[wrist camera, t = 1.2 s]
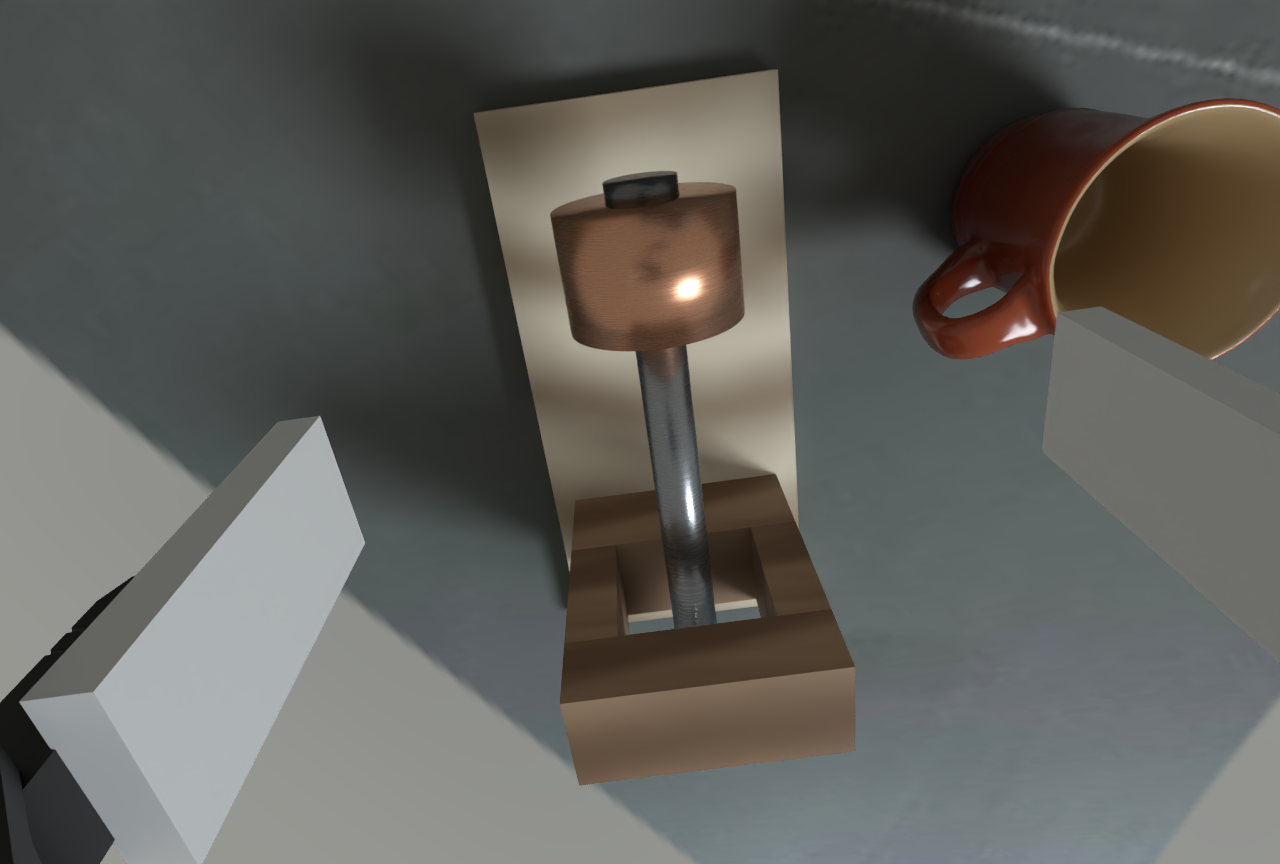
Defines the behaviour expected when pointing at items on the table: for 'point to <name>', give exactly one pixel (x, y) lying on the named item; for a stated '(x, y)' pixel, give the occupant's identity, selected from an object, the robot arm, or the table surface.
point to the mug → (1116, 227)
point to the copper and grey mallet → (659, 331)
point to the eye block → (700, 644)
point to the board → (609, 380)
